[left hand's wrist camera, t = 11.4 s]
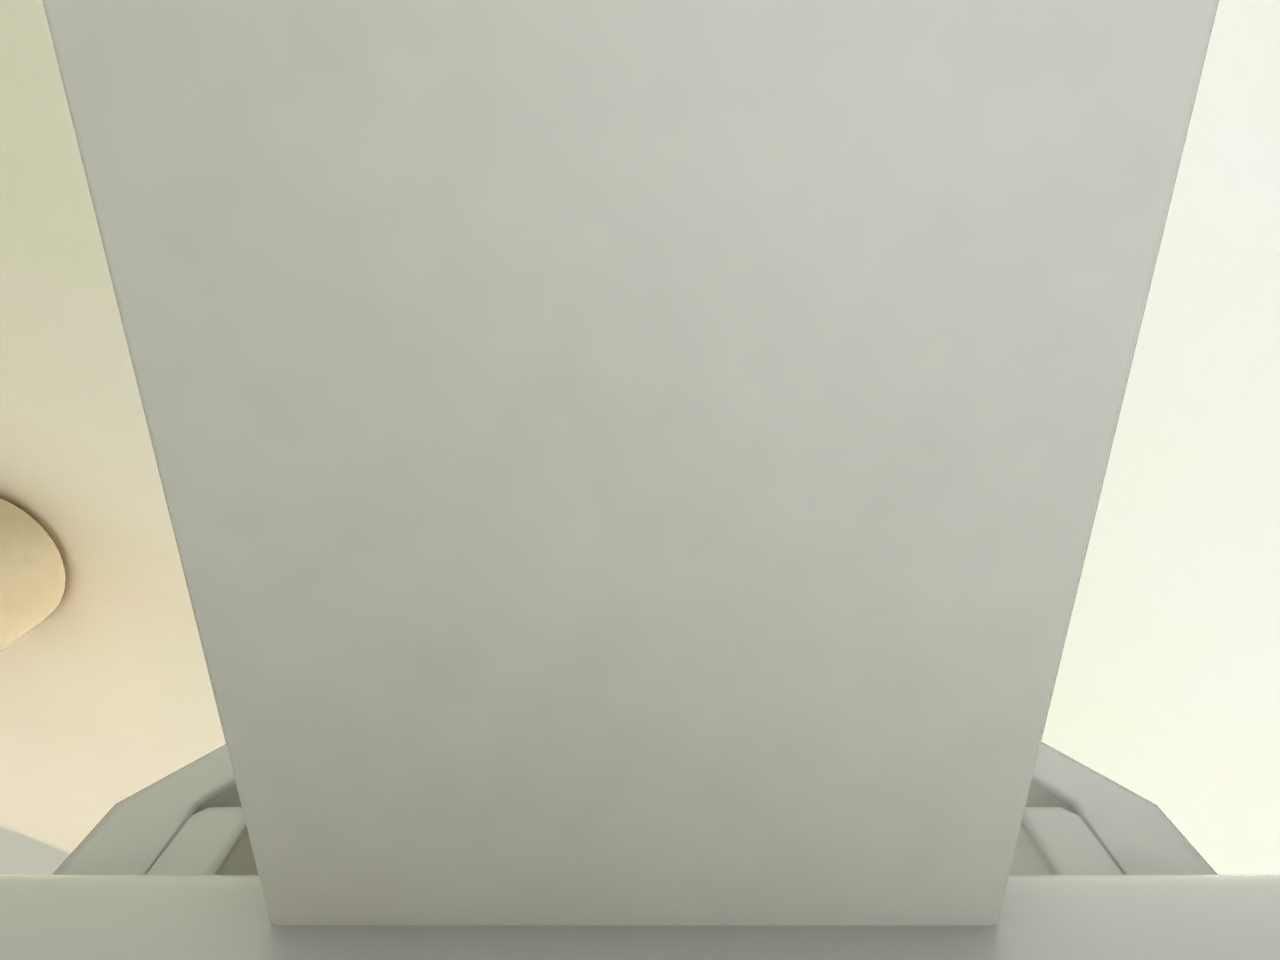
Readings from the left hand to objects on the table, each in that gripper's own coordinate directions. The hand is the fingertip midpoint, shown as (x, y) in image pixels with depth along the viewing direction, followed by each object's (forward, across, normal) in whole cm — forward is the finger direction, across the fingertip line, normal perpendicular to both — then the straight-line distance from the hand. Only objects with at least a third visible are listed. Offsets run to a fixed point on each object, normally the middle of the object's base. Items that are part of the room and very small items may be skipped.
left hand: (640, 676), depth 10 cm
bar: (+3, 0, +10) cm, 11 cm away
